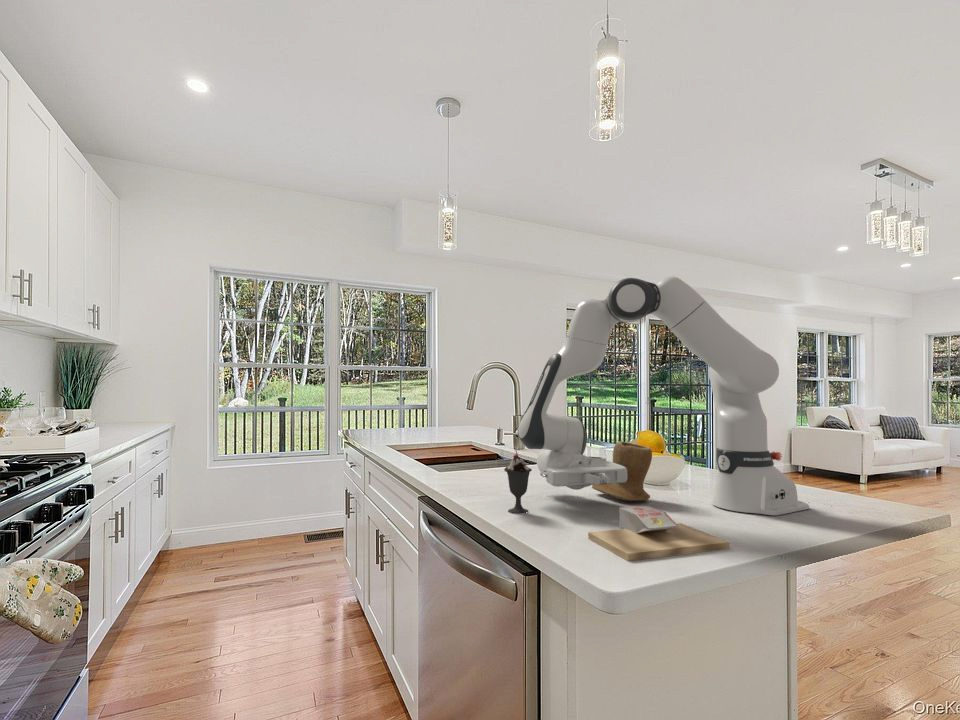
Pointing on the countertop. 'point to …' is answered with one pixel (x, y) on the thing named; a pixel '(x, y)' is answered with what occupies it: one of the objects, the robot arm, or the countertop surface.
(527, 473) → the sundae
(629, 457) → the brown suede boot
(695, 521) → the countertop surface
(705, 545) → the oak board
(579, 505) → the countertop surface
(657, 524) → the white printed carton
